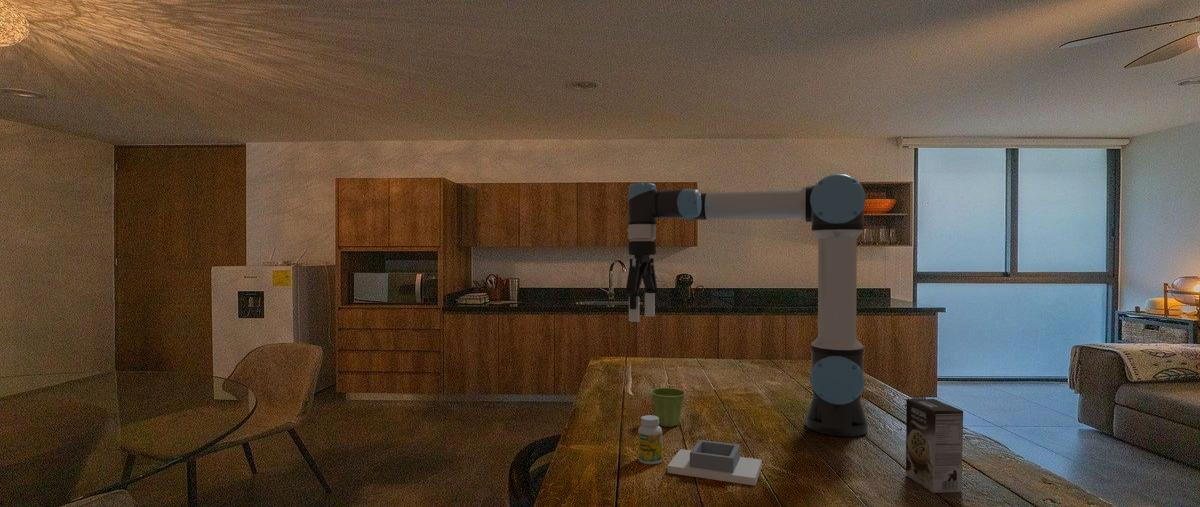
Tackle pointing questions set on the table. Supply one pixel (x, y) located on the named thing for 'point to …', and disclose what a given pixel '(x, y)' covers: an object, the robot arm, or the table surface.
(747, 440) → the table surface
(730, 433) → the table surface
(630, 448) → the table surface
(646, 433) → the supplement bottle
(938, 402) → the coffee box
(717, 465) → the white base grey socket
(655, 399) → the plant pot
